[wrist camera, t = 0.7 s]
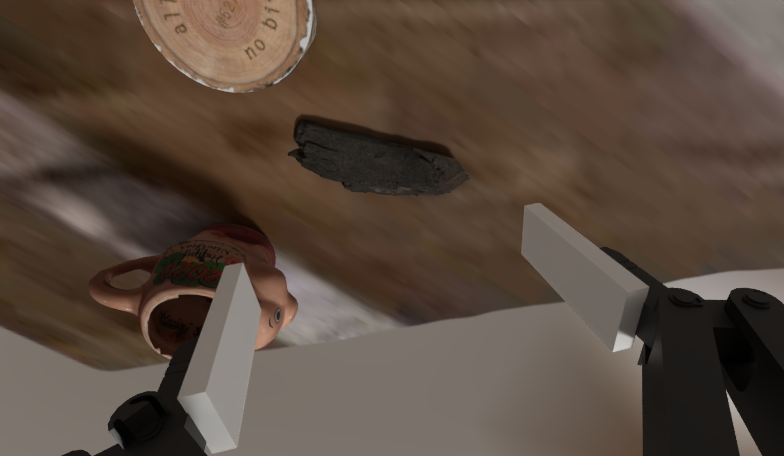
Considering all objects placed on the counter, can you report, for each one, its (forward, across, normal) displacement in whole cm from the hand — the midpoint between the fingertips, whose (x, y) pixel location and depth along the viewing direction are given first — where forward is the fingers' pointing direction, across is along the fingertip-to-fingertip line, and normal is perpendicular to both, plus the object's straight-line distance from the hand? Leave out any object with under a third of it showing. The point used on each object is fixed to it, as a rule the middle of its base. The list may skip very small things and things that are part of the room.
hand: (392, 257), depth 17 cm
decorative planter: (+29, -18, -14) cm, 37 cm away
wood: (+29, +4, -6) cm, 30 cm away
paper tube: (+29, -4, +11) cm, 31 cm away
